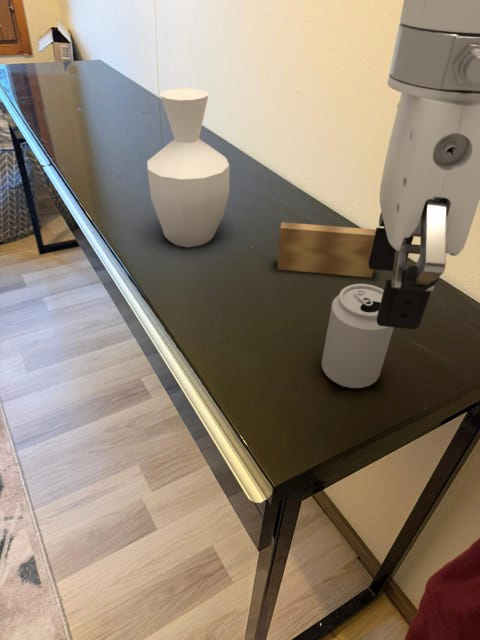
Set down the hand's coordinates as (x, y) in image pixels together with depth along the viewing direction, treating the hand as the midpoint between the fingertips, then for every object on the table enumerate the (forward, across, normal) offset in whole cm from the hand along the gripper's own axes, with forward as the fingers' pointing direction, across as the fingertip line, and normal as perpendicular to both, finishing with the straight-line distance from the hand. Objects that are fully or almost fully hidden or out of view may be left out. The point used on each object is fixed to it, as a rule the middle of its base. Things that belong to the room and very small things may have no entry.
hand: (390, 293), depth 39 cm
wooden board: (+20, +34, +3) cm, 40 cm away
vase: (+20, +42, +28) cm, 55 cm away
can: (+20, +10, 0) cm, 23 cm away
